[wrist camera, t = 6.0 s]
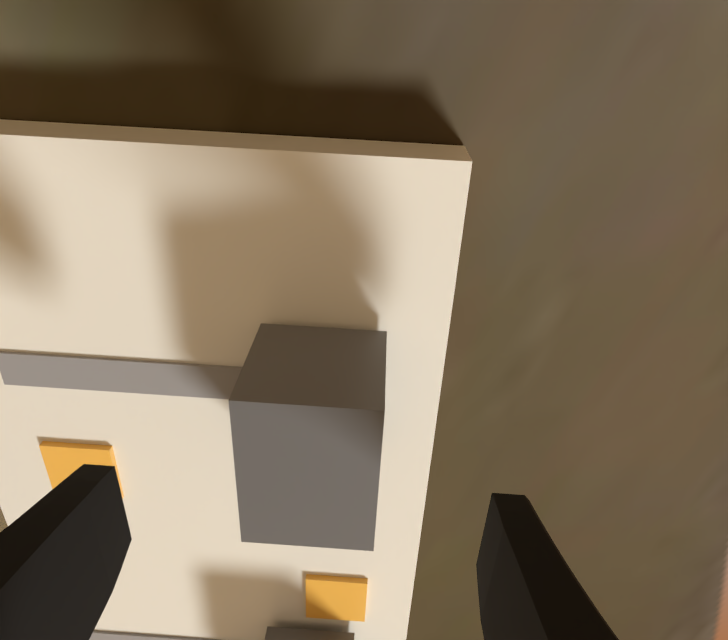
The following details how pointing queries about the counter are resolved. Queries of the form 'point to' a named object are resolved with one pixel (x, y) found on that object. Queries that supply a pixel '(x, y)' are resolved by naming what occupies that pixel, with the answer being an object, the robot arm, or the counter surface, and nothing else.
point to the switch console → (217, 349)
